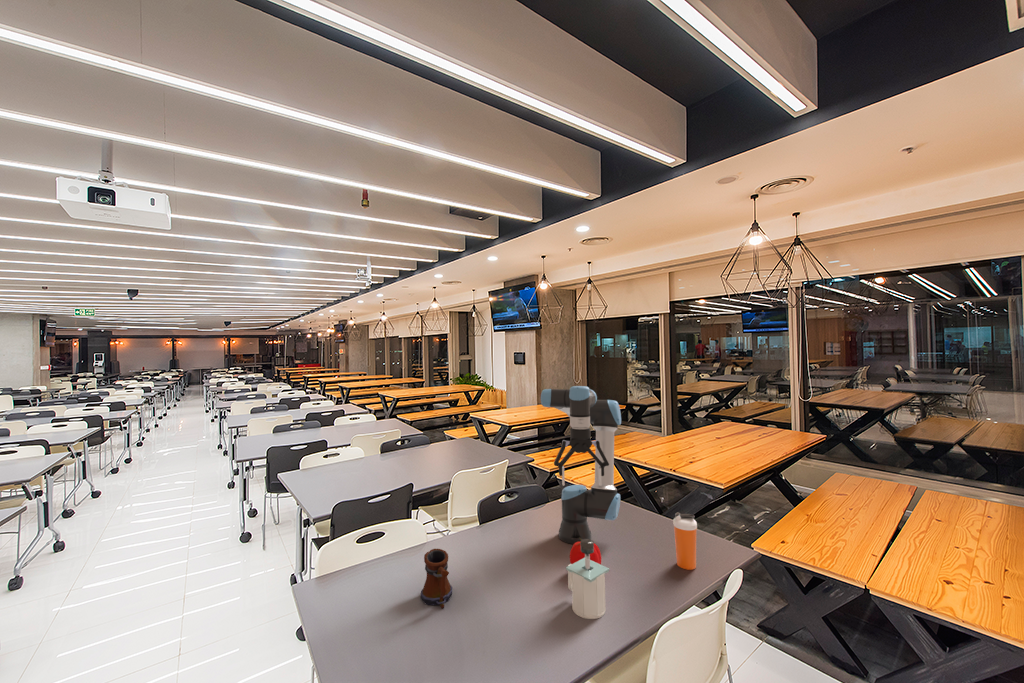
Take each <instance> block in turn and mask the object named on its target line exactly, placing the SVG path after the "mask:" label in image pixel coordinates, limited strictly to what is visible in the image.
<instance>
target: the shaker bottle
mask: <svg viewBox="0 0 1024 683" xmlns="http://www.w3.org/2000/svg"><path fill="white" fill-rule="evenodd" d="M674 515H675V517H674V518H673V520H672V523H673V524H672V525H673V531H674V533H673V534H674V541H675V542H674V545H675V555H676V565H677V566H678V567H679V568H681V569H683V570H688V571H692V570H694V569H696V567H697V529H698V522H697V521H696V519H695V515H694V514H691V513H680V512H679V511H678V512H676V513H675V514H674Z"/></svg>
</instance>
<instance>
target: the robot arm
mask: <svg viewBox="0 0 1024 683" xmlns="http://www.w3.org/2000/svg"><path fill="white" fill-rule="evenodd" d="M540 403H541V406H543V408H554V409H557V410H559V411H561V412H563V413H565V414H566V415H567V416H568V418H569V426H570V428H569V429H570V430H569V432H570V434H569V435H570V438H569V439H570V440H565V439H562V441H561V447H560V449H559V451H558V452H557V455H556V457H555V459H554V461H553V464H554V466H555V467H558V475H559V476H560V477H561V484H562V486H565V485H566V484H565V482H566V481H565V466H564V465H565V464H566V463H567V462H568V460H569V459H570V458H571V457H572V456H573V455H574V454H575V453H576V454H581V453H582V454H586V453H587V452H588V455H590V456H591V458H593V459H594V483H593V484H592V485H591V486H590V490H588V488H587V486H586V485H583V484H572V485H568V486H565V487H564V488H562V490H561V498H560V499H561V522H560V526H559V530H558V538H559V540H560V541H562V542H563V543H566V544H570V545H574V544H575V543H576V542H580V541H581V540H582V539H591V540H592V532H591V529H590V527H589V526H590V525H589V522H588V518H591V519H597V520H598V519H599V520H604V521H615V520H616V519H617V518H618V516H619V512H620V506H621V494H620V493H618V490H617V488H616V486H615V485H614V480H615V478H614V477H615V476H614V474H615V469H614V468H615V467H614V466H615V432H616V431H618V429H619V428H618V427H619V426H620V425H621V424H622V414H621V407H620V404H619V402H618V401H617V400H613V399H598V396H597V393H596V392H595V390H593V389H591V388H590V387H589V386H587V385H574V386H571V387H569V389H568V388H567V389H566V388H565V389H563V388H562V389H560V388H545V389H543V390H541V393H540ZM591 424H592V428H593V429H594V430H595V440H592V439H591V437H592V436H591V434H592V433H591V428H590V427H591ZM592 445H593V446H594V447H595V453H594V451H593V450H592V449H591V446H592ZM568 446H570V447H571V448H570V449H569V451H568V452H567V453H566V454H565V455H564V457H562V455H563V454H564V451H565V449H566V447H568ZM561 458H562V459H561ZM580 539H581V540H580Z"/></svg>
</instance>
